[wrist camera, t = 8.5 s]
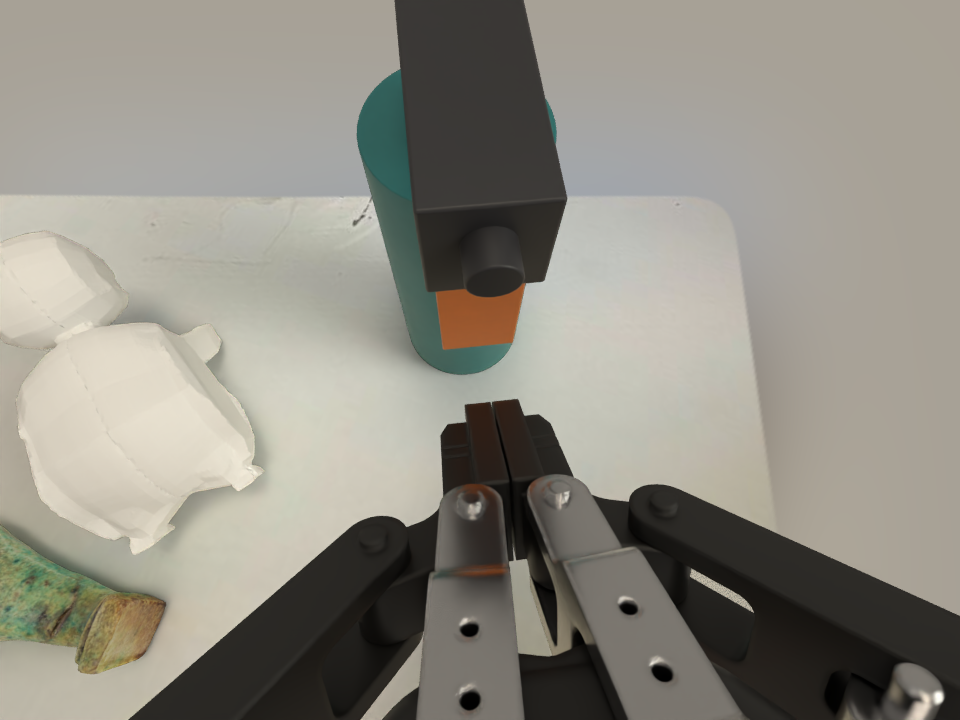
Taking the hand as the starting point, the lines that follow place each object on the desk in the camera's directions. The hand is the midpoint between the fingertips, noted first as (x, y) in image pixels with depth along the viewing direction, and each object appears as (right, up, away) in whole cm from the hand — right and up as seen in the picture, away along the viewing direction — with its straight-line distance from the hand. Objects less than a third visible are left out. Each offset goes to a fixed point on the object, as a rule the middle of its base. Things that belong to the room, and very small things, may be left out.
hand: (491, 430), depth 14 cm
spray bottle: (-1, +2, +15) cm, 15 cm away
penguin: (-18, -1, +14) cm, 23 cm away
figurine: (-23, -9, +11) cm, 27 cm away
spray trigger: (0, +3, +3) cm, 4 cm away
